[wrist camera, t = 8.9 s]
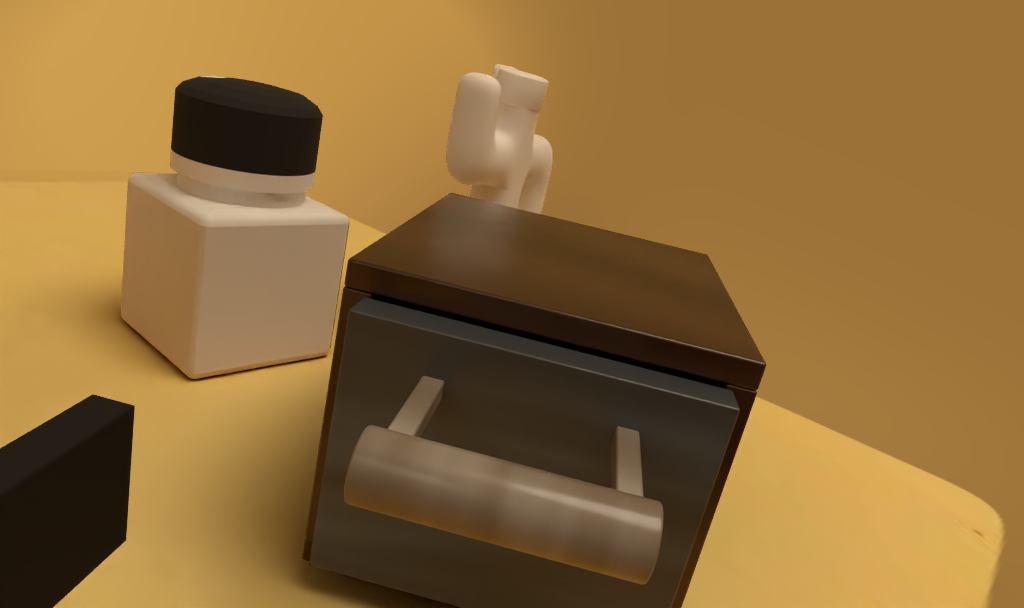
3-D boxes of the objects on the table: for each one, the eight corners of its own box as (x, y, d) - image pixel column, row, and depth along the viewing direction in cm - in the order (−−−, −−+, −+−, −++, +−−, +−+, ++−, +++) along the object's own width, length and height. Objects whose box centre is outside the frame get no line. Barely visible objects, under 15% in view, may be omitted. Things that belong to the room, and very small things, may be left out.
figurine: (554, 331, 47) (614, 90, 42) (477, 368, 39) (542, 74, 34) (460, 294, 50) (507, 65, 45) (370, 321, 41) (416, 45, 37)
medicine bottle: (332, 357, 36) (370, 109, 32) (189, 383, 31) (215, 90, 27) (255, 304, 40) (281, 79, 37) (117, 319, 35) (131, 57, 31)
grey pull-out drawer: (664, 840, 15) (786, 528, 13) (216, 708, 16) (254, 387, 14) (639, 459, 31) (693, 285, 29) (414, 399, 32) (448, 225, 29)
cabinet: (663, 661, 21) (767, 364, 19) (301, 560, 22) (347, 258, 19) (646, 455, 33) (708, 254, 31) (411, 393, 34) (450, 191, 31)
